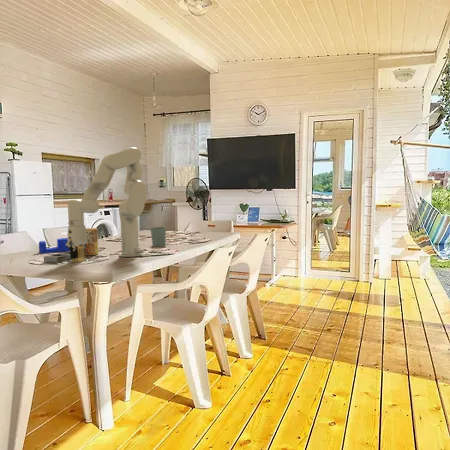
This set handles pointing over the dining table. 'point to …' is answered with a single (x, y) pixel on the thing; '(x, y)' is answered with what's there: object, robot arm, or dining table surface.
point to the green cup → (158, 236)
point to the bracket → (60, 247)
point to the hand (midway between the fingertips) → (78, 257)
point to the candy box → (92, 242)
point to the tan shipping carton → (79, 254)
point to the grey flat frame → (58, 257)
